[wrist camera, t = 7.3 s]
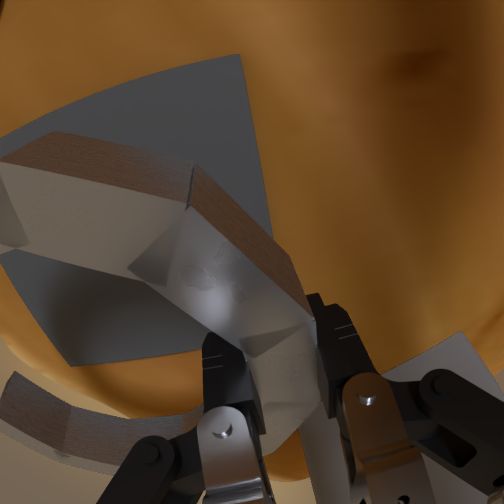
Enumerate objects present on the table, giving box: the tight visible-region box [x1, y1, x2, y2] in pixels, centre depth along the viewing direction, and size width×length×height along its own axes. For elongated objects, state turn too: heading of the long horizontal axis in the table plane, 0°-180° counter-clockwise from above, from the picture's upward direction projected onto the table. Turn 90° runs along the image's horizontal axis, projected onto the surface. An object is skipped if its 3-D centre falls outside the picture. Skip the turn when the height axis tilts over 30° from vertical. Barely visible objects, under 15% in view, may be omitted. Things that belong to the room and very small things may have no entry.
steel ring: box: [0, 131, 320, 476], centre depth 10 cm, size 16×16×3 cm
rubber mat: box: [0, 54, 273, 367], centre depth 17 cm, size 17×17×1 cm
